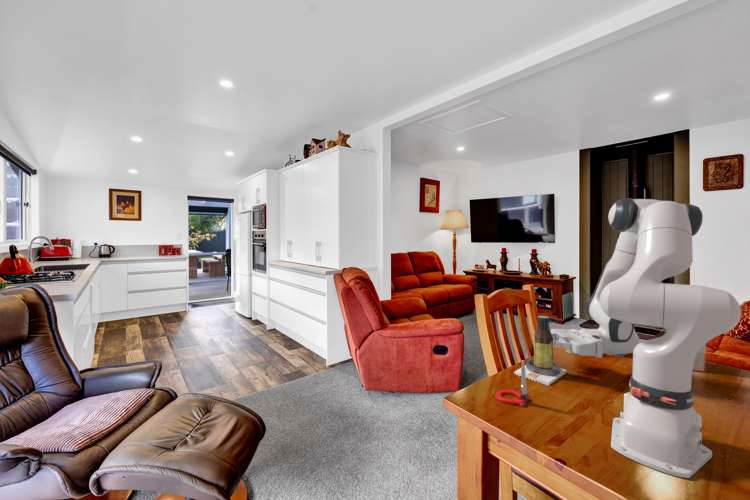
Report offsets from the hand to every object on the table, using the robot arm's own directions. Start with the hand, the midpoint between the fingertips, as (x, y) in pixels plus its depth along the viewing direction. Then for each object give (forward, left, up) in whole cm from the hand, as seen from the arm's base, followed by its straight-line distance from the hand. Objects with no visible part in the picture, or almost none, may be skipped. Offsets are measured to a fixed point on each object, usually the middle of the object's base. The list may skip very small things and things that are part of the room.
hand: (549, 340), depth 122 cm
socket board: (-4, +1, -12) cm, 13 cm away
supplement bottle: (+30, +1, -12) cm, 33 cm away
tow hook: (-30, 0, -12) cm, 32 cm away
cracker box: (+48, -33, -12) cm, 60 cm away
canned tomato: (+42, -11, -12) cm, 45 cm away
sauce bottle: (-2, +1, -11) cm, 11 cm away
